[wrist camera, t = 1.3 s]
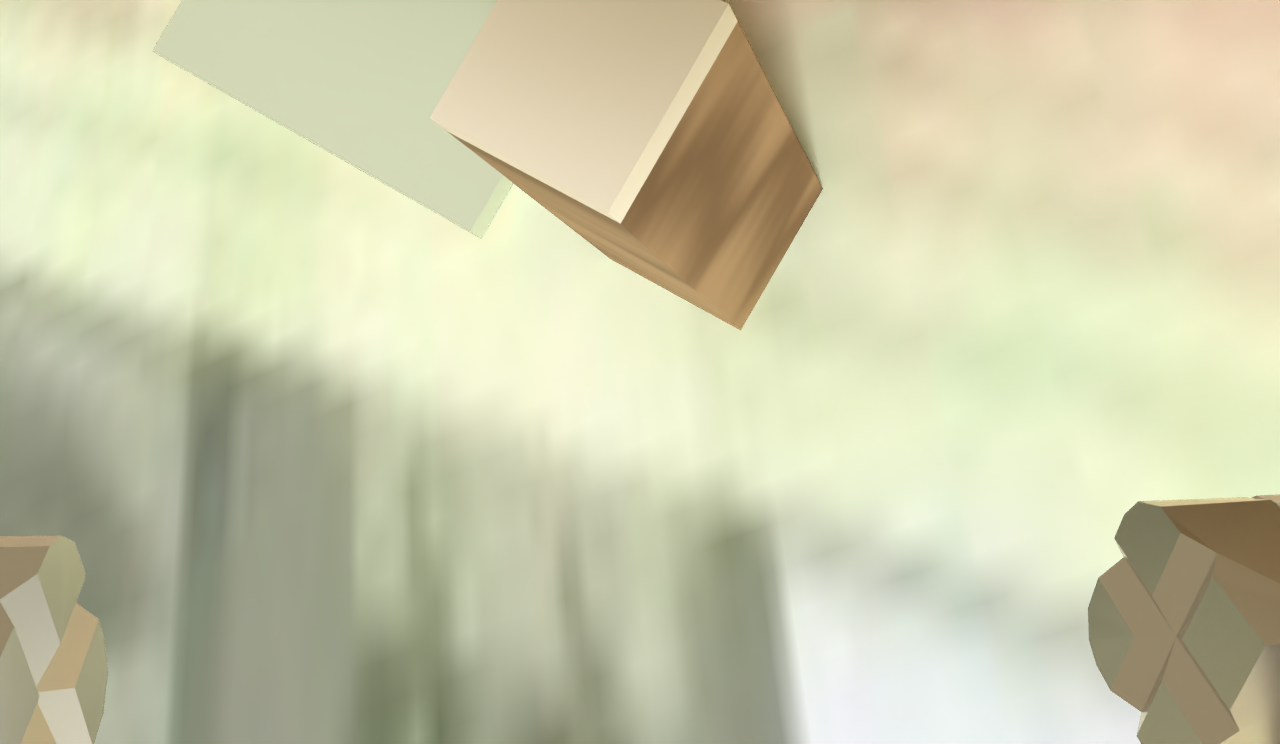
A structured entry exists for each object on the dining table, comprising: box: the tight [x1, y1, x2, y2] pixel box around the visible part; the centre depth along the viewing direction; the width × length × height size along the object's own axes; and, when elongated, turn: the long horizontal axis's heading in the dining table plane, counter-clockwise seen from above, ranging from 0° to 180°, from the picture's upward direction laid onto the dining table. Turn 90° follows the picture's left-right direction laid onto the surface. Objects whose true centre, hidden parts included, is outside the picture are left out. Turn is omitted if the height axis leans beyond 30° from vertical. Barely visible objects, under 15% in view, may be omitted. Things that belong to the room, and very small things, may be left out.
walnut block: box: [430, 0, 823, 330], centre depth 30 cm, size 5×5×12 cm
